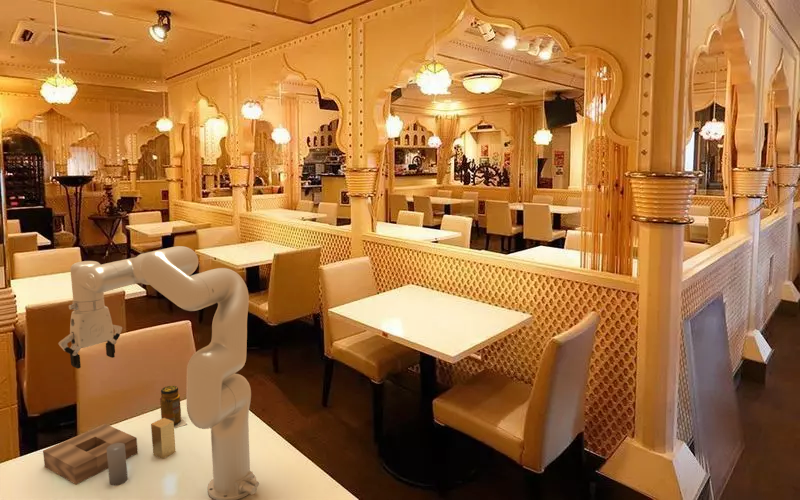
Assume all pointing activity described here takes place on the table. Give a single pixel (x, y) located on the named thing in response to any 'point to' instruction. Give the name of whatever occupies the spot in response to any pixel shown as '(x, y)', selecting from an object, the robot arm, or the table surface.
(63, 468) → the socket block
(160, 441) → the square peg
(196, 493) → the table surface
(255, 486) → the robot arm
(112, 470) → the round peg
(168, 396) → the condiment
